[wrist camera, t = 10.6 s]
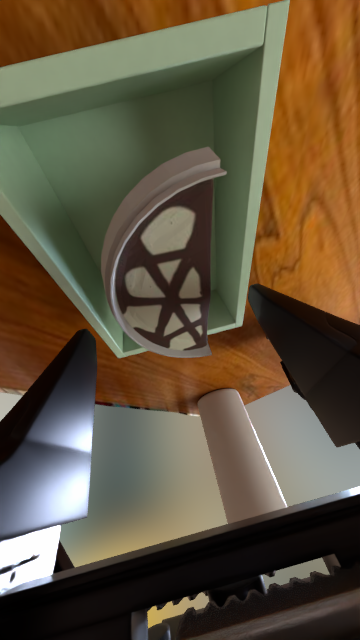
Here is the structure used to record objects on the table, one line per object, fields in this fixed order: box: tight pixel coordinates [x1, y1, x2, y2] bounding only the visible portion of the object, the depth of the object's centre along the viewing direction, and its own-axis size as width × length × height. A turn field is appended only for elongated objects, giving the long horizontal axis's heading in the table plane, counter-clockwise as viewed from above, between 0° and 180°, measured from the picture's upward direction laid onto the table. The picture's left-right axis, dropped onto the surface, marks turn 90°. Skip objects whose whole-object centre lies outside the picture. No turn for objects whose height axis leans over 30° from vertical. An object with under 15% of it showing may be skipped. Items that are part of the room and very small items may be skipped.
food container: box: [101, 147, 227, 358], centre depth 13 cm, size 12×6×10 cm, turn 5°
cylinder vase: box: [198, 389, 287, 524], centre depth 44 cm, size 12×12×25 cm
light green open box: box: [0, 0, 290, 358], centre depth 15 cm, size 14×18×7 cm
